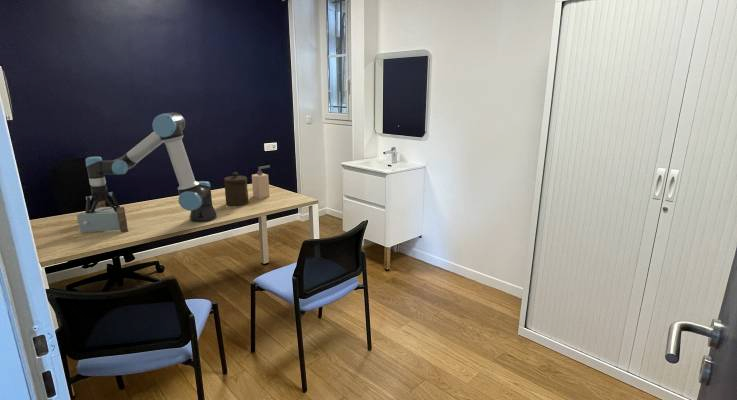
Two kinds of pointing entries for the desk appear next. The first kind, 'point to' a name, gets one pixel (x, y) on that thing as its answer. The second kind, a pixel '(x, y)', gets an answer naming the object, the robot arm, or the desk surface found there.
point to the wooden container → (236, 190)
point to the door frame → (120, 216)
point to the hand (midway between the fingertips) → (105, 223)
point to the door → (98, 222)
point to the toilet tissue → (104, 210)
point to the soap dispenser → (260, 183)
